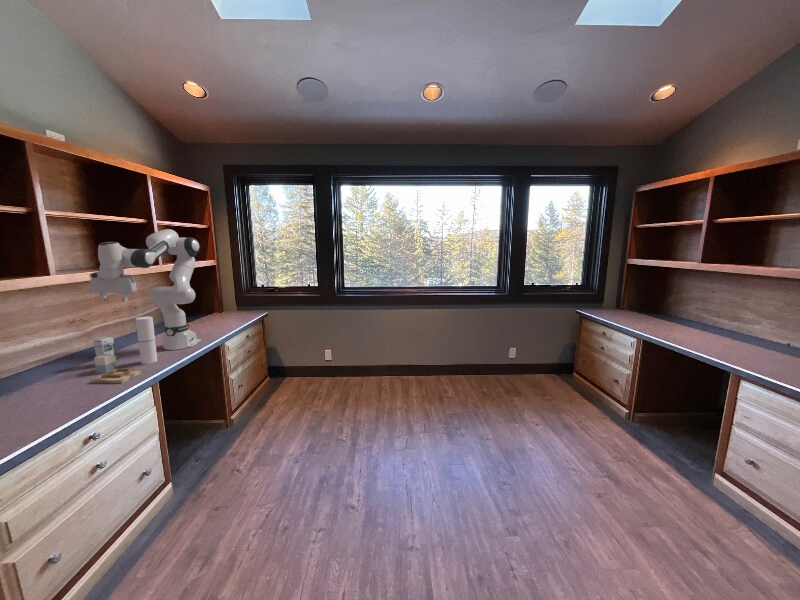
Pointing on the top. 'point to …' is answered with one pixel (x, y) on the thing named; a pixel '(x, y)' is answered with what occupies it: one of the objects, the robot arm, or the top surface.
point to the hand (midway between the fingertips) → (115, 301)
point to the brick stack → (104, 363)
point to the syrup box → (105, 346)
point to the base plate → (117, 376)
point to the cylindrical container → (146, 340)
